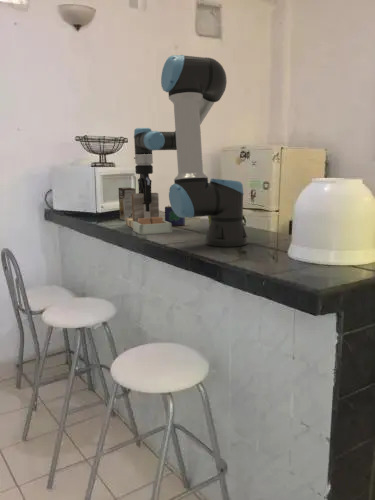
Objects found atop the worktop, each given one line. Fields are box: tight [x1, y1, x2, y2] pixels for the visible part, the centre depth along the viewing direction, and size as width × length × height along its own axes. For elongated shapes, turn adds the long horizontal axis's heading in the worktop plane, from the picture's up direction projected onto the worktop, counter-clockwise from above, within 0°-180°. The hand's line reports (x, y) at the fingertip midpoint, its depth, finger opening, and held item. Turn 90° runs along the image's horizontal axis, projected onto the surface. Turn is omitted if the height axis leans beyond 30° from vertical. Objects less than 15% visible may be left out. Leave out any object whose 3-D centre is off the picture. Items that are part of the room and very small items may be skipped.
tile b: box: [138, 218, 150, 225], centre depth 197 cm, size 5×4×3 cm
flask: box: [164, 204, 186, 227], centre depth 212 cm, size 9×3×11 cm, turn 87°
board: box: [124, 218, 151, 229], centre depth 211 cm, size 20×11×3 cm, turn 21°
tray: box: [132, 219, 173, 236], centre depth 196 cm, size 12×14×4 cm
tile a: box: [151, 216, 164, 224], centre depth 199 cm, size 5×4×3 cm
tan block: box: [132, 192, 160, 222], centre depth 204 cm, size 4×11×12 cm, turn 111°
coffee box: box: [117, 187, 137, 222], centre depth 233 cm, size 9×6×16 cm
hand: (145, 217), depth 205 cm, fingers closed on tan block, 4 cm apart
